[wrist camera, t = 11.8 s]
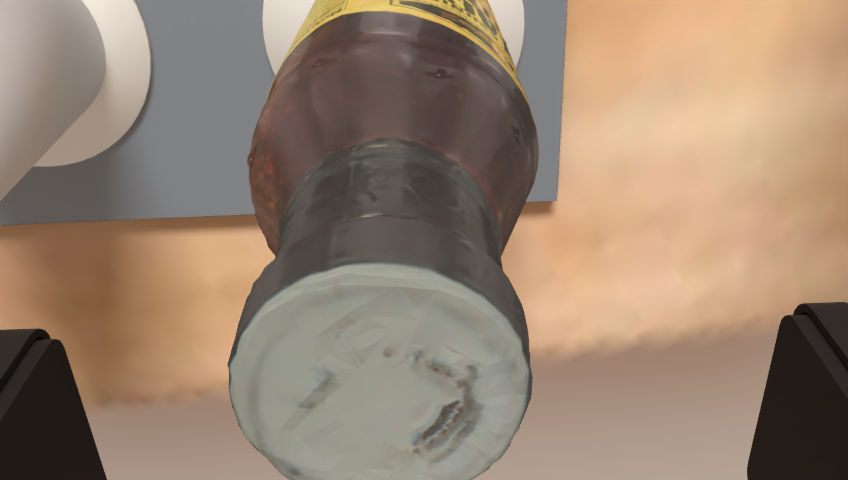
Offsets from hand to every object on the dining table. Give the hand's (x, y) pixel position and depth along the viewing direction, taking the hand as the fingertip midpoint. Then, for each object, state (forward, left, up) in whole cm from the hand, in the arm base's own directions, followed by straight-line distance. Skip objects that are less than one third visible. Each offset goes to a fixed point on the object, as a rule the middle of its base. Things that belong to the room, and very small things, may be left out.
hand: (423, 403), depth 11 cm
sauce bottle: (0, 0, -20) cm, 20 cm away
